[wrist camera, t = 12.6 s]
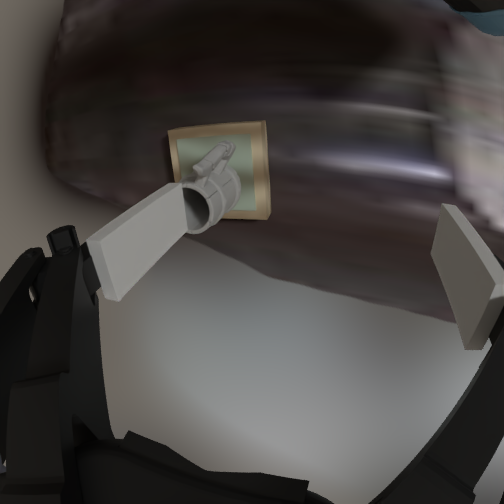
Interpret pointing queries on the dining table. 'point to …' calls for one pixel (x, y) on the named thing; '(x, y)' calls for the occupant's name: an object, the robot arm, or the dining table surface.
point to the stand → (242, 161)
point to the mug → (210, 188)
